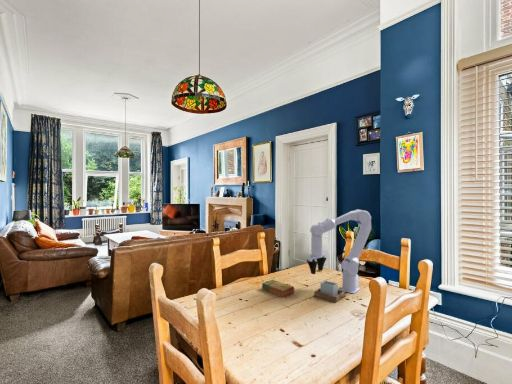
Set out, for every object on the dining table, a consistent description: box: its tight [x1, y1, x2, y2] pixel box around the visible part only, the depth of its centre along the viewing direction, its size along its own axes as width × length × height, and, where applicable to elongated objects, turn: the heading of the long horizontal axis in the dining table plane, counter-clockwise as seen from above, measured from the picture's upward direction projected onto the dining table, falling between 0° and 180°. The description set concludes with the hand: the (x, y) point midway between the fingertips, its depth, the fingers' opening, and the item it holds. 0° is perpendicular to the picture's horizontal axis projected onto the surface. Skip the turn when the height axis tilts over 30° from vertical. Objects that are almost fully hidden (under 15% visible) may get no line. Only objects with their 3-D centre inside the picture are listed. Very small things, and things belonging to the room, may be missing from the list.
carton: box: [261, 279, 295, 299], centre depth 146 cm, size 8×16×4 cm, turn 42°
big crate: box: [313, 287, 346, 303], centre depth 139 cm, size 10×12×2 cm
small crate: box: [320, 280, 339, 297], centre depth 139 cm, size 5×7×6 cm
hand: (316, 272), depth 147 cm, fingers open, 7 cm apart
